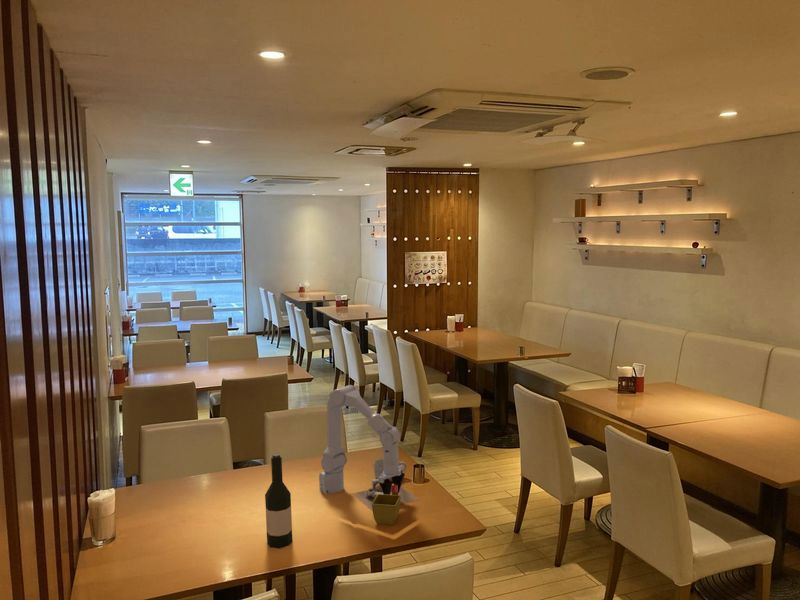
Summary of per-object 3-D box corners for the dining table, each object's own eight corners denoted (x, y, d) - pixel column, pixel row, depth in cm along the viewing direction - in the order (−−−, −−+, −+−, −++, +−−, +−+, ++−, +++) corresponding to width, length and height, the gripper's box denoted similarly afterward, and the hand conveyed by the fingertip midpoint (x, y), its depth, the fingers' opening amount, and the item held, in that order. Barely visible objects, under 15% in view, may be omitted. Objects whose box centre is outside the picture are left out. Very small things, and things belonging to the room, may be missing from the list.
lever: (365, 496, 234) (364, 482, 233) (368, 493, 237) (368, 479, 237) (396, 501, 229) (396, 486, 228) (399, 497, 232) (399, 483, 231)
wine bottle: (281, 534, 208) (278, 449, 205) (297, 541, 202) (294, 453, 200) (261, 543, 201) (258, 455, 199) (278, 551, 196) (274, 460, 194)
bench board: (372, 514, 222) (372, 510, 222) (352, 496, 239) (351, 493, 239) (419, 502, 231) (419, 499, 231) (397, 486, 248) (396, 482, 248)
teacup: (370, 483, 252) (369, 464, 252) (378, 473, 263) (378, 455, 262) (402, 485, 248) (401, 466, 248) (409, 476, 259) (409, 458, 258)
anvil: (373, 491, 240) (372, 481, 240) (371, 489, 242) (371, 479, 242) (383, 489, 242) (383, 479, 241) (382, 487, 244) (382, 478, 243)
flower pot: (396, 530, 208) (395, 505, 208) (372, 528, 210) (371, 503, 210) (401, 519, 217) (401, 495, 216) (378, 517, 219) (377, 493, 218)
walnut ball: (377, 494, 237) (377, 485, 236) (373, 491, 240) (373, 482, 240) (386, 492, 238) (385, 484, 238) (382, 489, 242) (381, 481, 241)
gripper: (389, 468, 220) (389, 504, 221) (410, 456, 232) (411, 490, 233) (373, 464, 224) (374, 500, 225) (395, 453, 236) (395, 487, 237)
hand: (391, 495), depth 229 cm, fingers open, 6 cm apart
